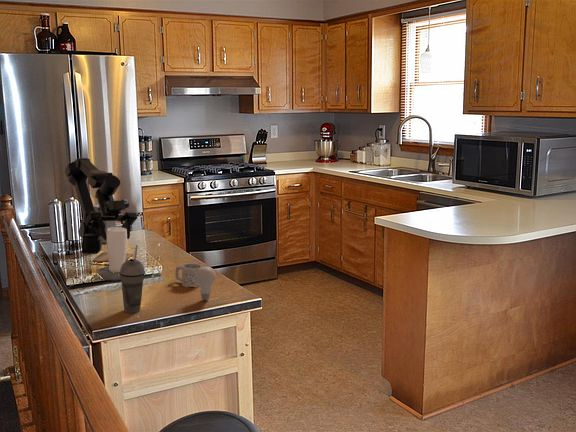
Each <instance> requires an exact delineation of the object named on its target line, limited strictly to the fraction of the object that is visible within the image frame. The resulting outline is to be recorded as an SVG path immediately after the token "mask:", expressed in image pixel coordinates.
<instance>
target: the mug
mask: <svg viewBox="0 0 576 432" xmlns="http://www.w3.org/2000/svg"><path fill="white" fill-rule="evenodd" d="M202 267H203V265H201V264H200V263H185V264H183V265H177V266H176V267H175V271H174V272H175V273H174V275H175V279H176V280H178V281H180V282H181V286H182V285H183V286H182V287H184V286H186V287H185V288H187V287H195V286H199V284H198V282H197V280H196V273H197V271H198V270H199V269H200V268H202ZM181 270H182V271H181ZM179 271H181V274H182V275H181V277H180V276H179Z"/></svg>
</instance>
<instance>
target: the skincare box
mask: <svg viewBox="0 0 576 432" xmlns="http://www.w3.org/2000/svg"><path fill="white" fill-rule="evenodd" d="M93 206H94V209H95V211H96V212H100V213H101V211H99V210H98V208H99V203H98V204H95V205H94V204H93ZM101 215H102V214H101ZM104 223H105V232H106V236H107V229H108V228H113V227H117V221H104ZM100 239H101V240H102V244H107V239H106V240H104V239H103V238H102V237H101V236H100Z"/></svg>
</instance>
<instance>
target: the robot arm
mask: <svg viewBox="0 0 576 432" xmlns="http://www.w3.org/2000/svg"><path fill="white" fill-rule="evenodd" d="M64 173H65V177H66V178H67V180H68V182H69V183H70V184H71V185H73V186H74V189H75V193H76V196H77V199H78V201H79V205H80V210H81V212H82V216H83V217H82V219H81V222H80V226H79V228H78V236H79V237H80V238H81V240H82V241H81V243H82V250H81V251H80V253H84V254H85V253H86V254H99V252H100V251H102V250H103V249H102V248H103V247H102V245H103V243H102V240H101V239H100V236H101V237H102V238H103V239H104V240H106V239H107V236H106V232H105V223H104V221H116V222H120V224H121V227H122V228H126V229H127V240H130V237H131V228H132V225H133V223H134V222H135V221H136V220H137V219H138V215H137V213H136V212H134V211H127V212H126V209H127V208H129V207H130V202H129V200H128V198H123V199H121V200H115V199H114V196H113V195H115V194H116V192H117V190H118V189H119V187H120V185H121V179H119V177H117V175H114V174H113V172H106V171H105V170H100V169H98V168H97V166H95V164H93V163H92V162H91V159H90V158H88V157H78V158H76V159H75V160H74V161H72V162H71V163H68V164H67V165H66V167H65V170H64ZM87 180H88V181H87ZM87 182H88V184H87ZM88 185H89V186H90V188H91V189H96V191H95V196H94V197H95V199H97V200H96V201H97V203H98V204H99V208H98V210H99V211H101V213H100V212H96V211H95V209H94V203H93V200H92V195H91V193H90V191H89V187H88ZM123 210H125V213H123V215H119V214H122V211H123ZM101 214H102V215H101Z"/></svg>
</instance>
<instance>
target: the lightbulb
mask: <svg viewBox="0 0 576 432" xmlns="http://www.w3.org/2000/svg"><path fill="white" fill-rule="evenodd" d="M216 278H217V276H216V272H215V271H214V268H212V267H211V266H202V268H200V269H199V270H198V271H197V273H196V280H197V282H198V284H199V286H200V287H199V289H200V295H201V297H200V298H201V300H203V301H204V300H206V301H207V300H209V299H210V293H211V292H212V291H211V289H212V286H213V284H214V283H215V281H216Z"/></svg>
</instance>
